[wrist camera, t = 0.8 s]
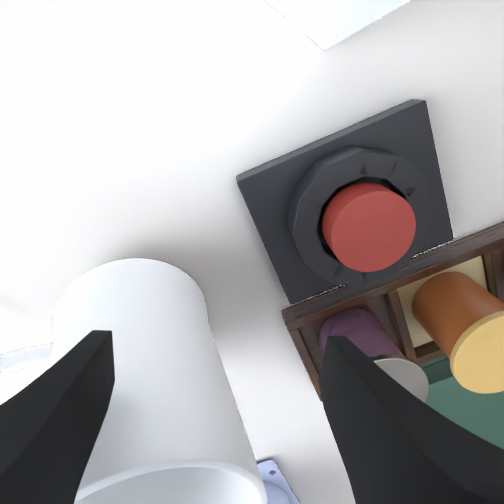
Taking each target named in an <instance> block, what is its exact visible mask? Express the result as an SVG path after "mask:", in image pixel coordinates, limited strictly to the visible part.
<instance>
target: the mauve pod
mask: <svg viewBox="0 0 504 504" xmlns="http://www.w3.org/2000/svg"><path fill="white" fill-rule="evenodd" d="M328 336H345V337H347V338H348V339H349V340H350V341H351V342H352V343H354V344H355V345H356V346H357V347H358V348H359V349H360V350H361V351H362V352H363V353H365V354H366V355H367V356H368V357H369V358H370V359H371V360H372V361H373V362H374V363H376V364H377V365H378V366H379V367H380V368H381V369H382V370H383V371H385V372H386V373H387V374H388V375H389V376H391V377H392V378H393V379H394V380H395V381H397V382H398V383H399V384H400V385H402V386H403V387H404V388H405V389H407V390H408V391H409V392H410V393H412V394H413V395H414V396H416V397H417V398H418V399H420V400H421V401H423V402H424V403H425V400H426V398H427V395H428V391H429V383H428V378H427V376H426V374H425V372H424V371H423V369H422V368H421V367H420V366H419V365H418V363H416V362H415V361H414V360H412V359H410V358H408V357H405V356H403V354H402V353H401V351H400V350H399V348H398V347H397V346H396V344H395V343H394V341H393V340H392V338H391V337H390V335H389V334H388V333H387V331H386V330H385V328H384V327H383V325H382V324H381V322H380V321H379V320H378V318H377V317H376V316H375V315H374V314H373V313H371V312H369V311H367V310H364V309H359V308H351V309H345V310H342V311H340V312H337V313H336V314H334V315H332V316H331V317H330V318H329V319H328V320H327V321H326V322H325V323H324V324H323V326H322V328H321V330H320V333H319V346H320V349H321V351H322V354H323V356H324V352H325V347H326V342H327V337H328Z"/></svg>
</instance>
